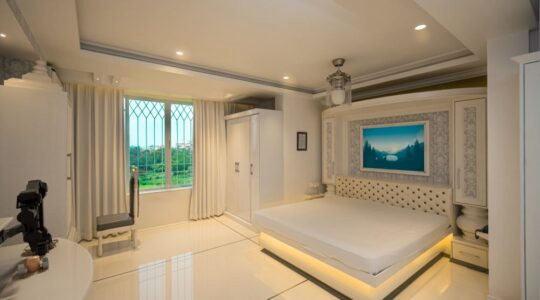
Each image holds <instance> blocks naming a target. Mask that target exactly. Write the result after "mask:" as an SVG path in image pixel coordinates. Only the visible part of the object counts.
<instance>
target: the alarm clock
mask: <svg viewBox="0 0 540 300" xmlns="http://www.w3.org/2000/svg"><path fill="white" fill-rule="evenodd" d="M58 243H59V239H58V238H55V239H52V242H51V243H49V244H48V250H49V249H53V248H55V246H56V244H58ZM22 251H23V252H24V254H25V253H26V254H25V255H33V254H32V253H34V252H31V249H30V247H29V244H28V245H26V246H25V247H24V249H23V250H22Z"/></svg>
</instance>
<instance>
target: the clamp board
mask: <svg viewBox="0 0 540 300" xmlns="http://www.w3.org/2000/svg"><path fill="white" fill-rule="evenodd" d="M24 271H25V275H23V276H20V277H19V276H18V278H19V280H21V279H25V278H28V277H31V276H35V275H37V274H40V273H45V272H48V271H50V267H49V268H47V269H43V266H42V262H40V269H39V270H37V271H35V272H28V271H27V267H24Z"/></svg>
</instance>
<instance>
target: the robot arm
mask: <svg viewBox="0 0 540 300" xmlns="http://www.w3.org/2000/svg"><path fill="white" fill-rule="evenodd" d="M48 192H49V185H48V183H47V182H45V181H42V179H31V180H27V184H26V185H25V189H24V190H21V191H20V192H19V193H18V195H17V196H16V203H15V209H16V210H19V209H20V211H19V212H18V214H17V215H16V221H17V222H19V224H16V225H14V226H12V227H10V228H7V229H6V230H4V233H5V235H6V237H7V238H8V239H10V238H11V239H12V238H13V237H15V236H17V235H18V234H21V235H22V241H23V242H24V243H26V244H28V245H29V247H30V249H31V252H34V254H32V257H33V256H39V257H41V256H44V255H47V254H49V253H50V250H49V249H48V244H49V243H51V242H52V240H53V237H52V234H51V233H50V232H49V228H47V226H45V209H44V208H45V205H44V199H45V198H46V197H47V195H48Z"/></svg>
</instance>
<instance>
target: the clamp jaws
mask: <svg viewBox="0 0 540 300" xmlns="http://www.w3.org/2000/svg"><path fill="white" fill-rule="evenodd" d="M41 261H42V262H41V263H42V266H43V269H47V268H49V269H50V263H49V257H48V256H47V257H43V258H41ZM24 268H25V263H21V264H17V273H18V278H19V277H20V276H23V275H25V271H24Z"/></svg>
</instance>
